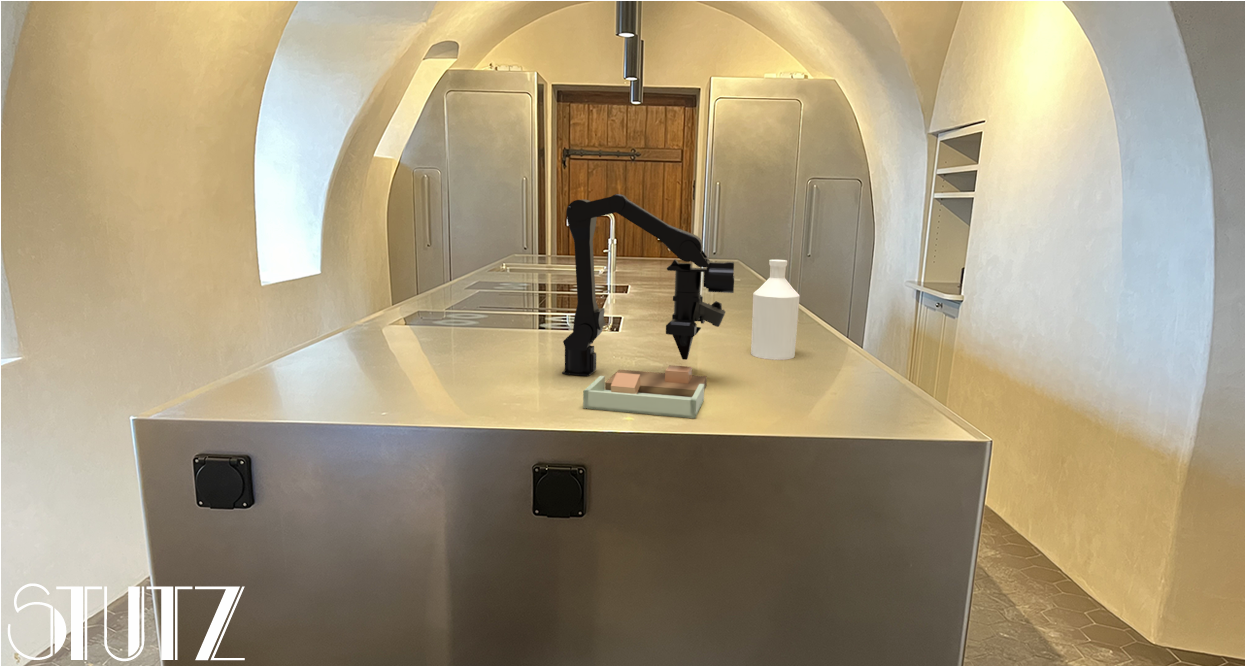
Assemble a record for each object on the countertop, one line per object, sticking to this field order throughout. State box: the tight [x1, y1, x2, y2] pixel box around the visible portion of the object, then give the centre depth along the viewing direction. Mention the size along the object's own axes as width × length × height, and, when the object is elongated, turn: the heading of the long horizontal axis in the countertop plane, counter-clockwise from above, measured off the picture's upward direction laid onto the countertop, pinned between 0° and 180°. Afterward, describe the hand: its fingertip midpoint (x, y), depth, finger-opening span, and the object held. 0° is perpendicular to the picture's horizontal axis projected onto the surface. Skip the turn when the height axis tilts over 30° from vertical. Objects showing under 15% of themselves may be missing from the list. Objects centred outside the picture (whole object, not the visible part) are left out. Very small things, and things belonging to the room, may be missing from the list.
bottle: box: [750, 259, 801, 361], centre depth 189 cm, size 12×12×25 cm
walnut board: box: [605, 369, 708, 397], centre depth 156 cm, size 20×12×2 cm, turn 76°
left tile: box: [611, 372, 641, 394], centre depth 149 cm, size 5×5×2 cm
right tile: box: [664, 364, 693, 384], centre depth 156 cm, size 5×5×2 cm
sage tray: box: [582, 375, 705, 419], centre depth 144 cm, size 22×12×4 cm, turn 76°
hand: (684, 359), depth 164 cm, fingers closed
